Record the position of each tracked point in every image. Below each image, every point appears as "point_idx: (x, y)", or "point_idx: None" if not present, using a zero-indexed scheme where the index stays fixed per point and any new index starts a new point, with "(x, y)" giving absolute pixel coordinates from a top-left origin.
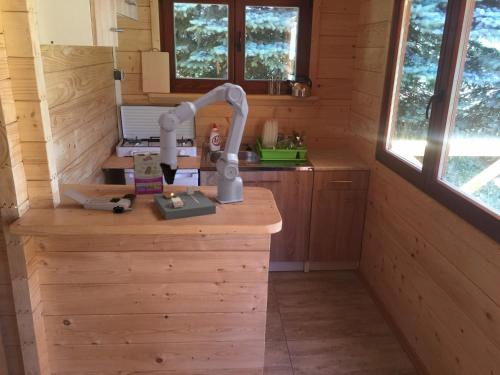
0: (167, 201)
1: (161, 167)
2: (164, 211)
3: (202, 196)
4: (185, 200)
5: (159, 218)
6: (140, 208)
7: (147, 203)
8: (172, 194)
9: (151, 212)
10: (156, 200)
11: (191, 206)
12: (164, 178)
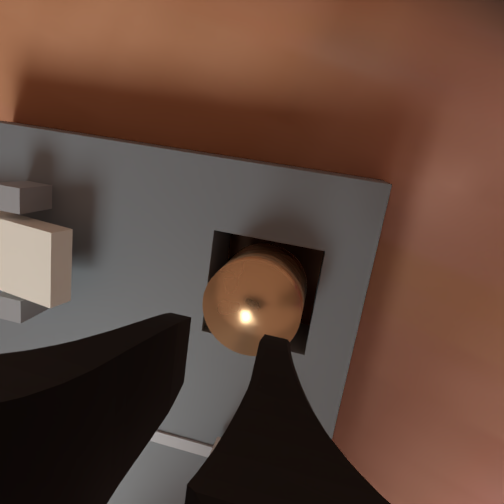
0: (164, 227)
1: (237, 461)
2: (8, 123)
3: (159, 500)
4: None
5: (53, 90)
6: (309, 18)
7: (398, 121)
8: (205, 313)
9: (181, 77)
10: (271, 164)
11: (2, 330)
12: (276, 353)
